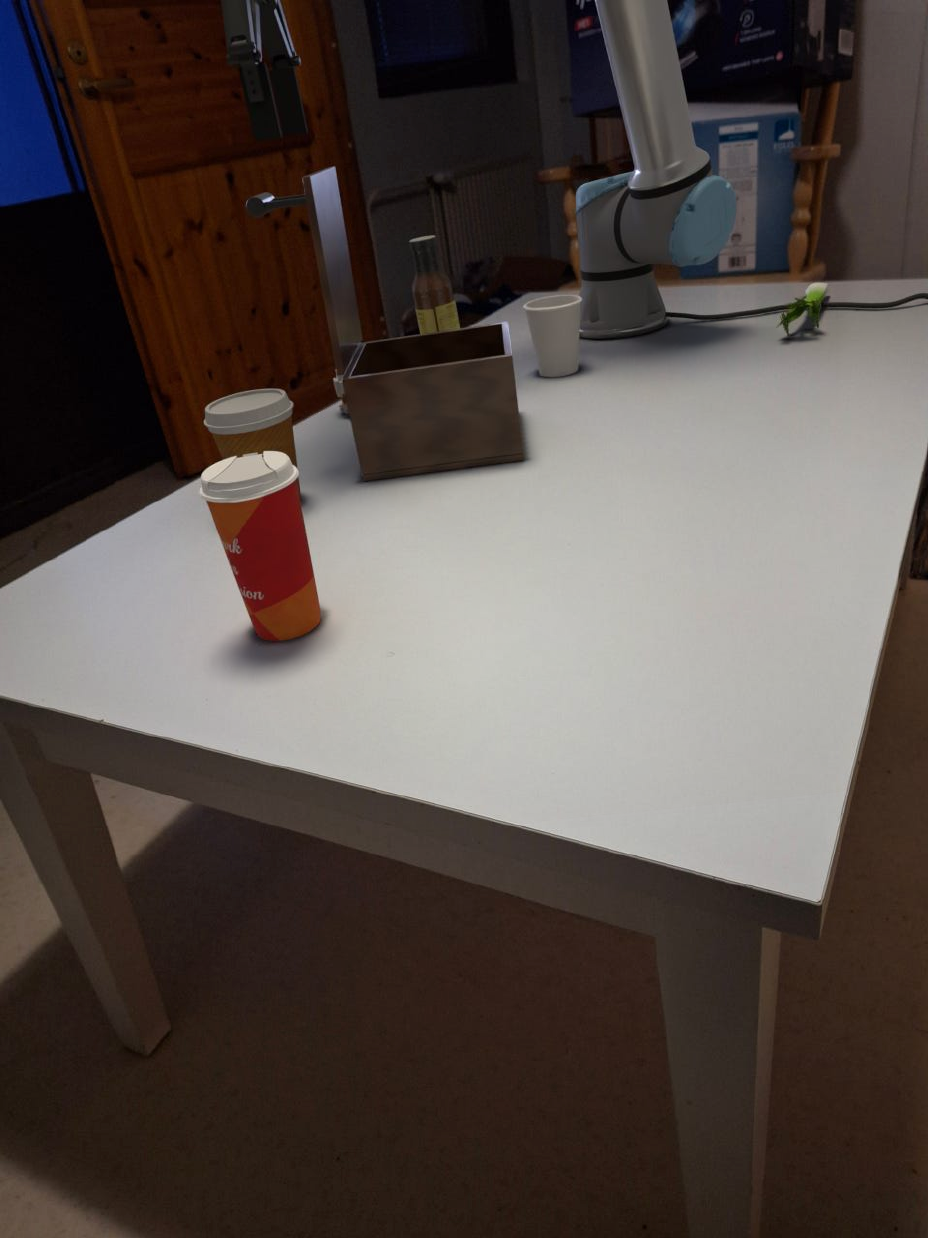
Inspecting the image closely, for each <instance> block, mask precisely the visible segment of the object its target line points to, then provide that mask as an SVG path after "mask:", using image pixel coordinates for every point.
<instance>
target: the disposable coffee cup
mask: <svg viewBox="0 0 928 1238" xmlns="http://www.w3.org/2000/svg"><path fill="white" fill-rule="evenodd" d="M293 409H294V402H293V401H292V400H291V399H290V398H289V396H288V394H287V393H286V391H285V390H283V389H281V388H260V389H258V388H257V389H252V390H245V391H240V392H236V393H233V394H229V395H227V396H224V397H221V398H218V399H216V400H213V401H212V402H210V403H209V404H207V405H206V406H205V407H204V420H203V425H204V426H205V427H206V428H207V429H208V431H209V432H210V433H211V434H212V437H213V439H214V443H215V444H216V446H217V449H218V451H219V453H220V456H221V458H222V460H225V459H227V458H230V457H234V456H237V458H240V457H243V455H245V454H251V453H258V454H263V452H264V451H277V452H282V453H284V454H286V455H287V456H288V457H289V458H290V460H291V463H292V465H294V466H295V467H296V468H297V469H298V460H297V453H296V452H297V451H296V442H295V435H294V426H293V418H292V417H293V416H292V415H293ZM262 457H264V456H263V455H262ZM298 470H299V469H298ZM299 477H300V476H299V475H298V477H297V478H296V481H297V487H298V492H299V497H300V503H302V494H301V487H300V478H299Z"/></svg>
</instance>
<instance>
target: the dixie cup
mask: <svg viewBox="0 0 928 1238" xmlns="http://www.w3.org/2000/svg"><path fill="white" fill-rule="evenodd" d="M581 301H582V298H581V297H580V296H579V295H577V294H556V295H548V296H543V297H539V298H535V299H532V300H529V301H527V302H526V303H524V304H523V306H522V309H523V310H524V311H525V314H526V320H527V323H528V328H529V334H530V337H531V341H532V345H533V346H532V347H533V350H534V354H535V359H536V363H537V368H538V372H539V375H540V376H542V377H545V378H559V377H565V376H569V375H572V374H575V373H576V372H578V371H579V360H580V359H579V358H580V336H579V332H580V305H581Z"/></svg>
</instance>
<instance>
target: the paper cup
mask: <svg viewBox="0 0 928 1238" xmlns="http://www.w3.org/2000/svg"><path fill="white" fill-rule="evenodd" d="M262 455H263V456H264V457H262ZM297 468H298V467H297ZM297 468H296V467H295V466H294V465H292V463H291V460H290V458H289V457H288V456H287V455H286V454H284V453H282V452H277V451H264V452H263V454H258V453H251V454H245V455H243V457H240V458H237V456H234V457H230V458H227V459H225V460H223V459H222V460H220V461H217V462H215V463H214V464H211V465H209V466H208V467H206V468H205V469H204V470H203V472H202V473H201V476H200V484H201V487H200V488H199V491H198V494H199V497H200V498H201V499H202V500H203V501H205V502H206V504H207V507H208V510H209V512H210V515H211V517H212V520H213V523H214V526H215V529H216V531H217V534H218V536H219V539H220V542H221V545H222V547H223V550H224V553H225V556H226V558H227V561H228V563H229V566H230V569H231V572H232V575H233V577H234V579H235V582H236V585H237V588H238V590H239V593H240V596H241V598H242V601H243V604H244V606H245V609H246V611H247V614H248V616H249V619H250V622H251V625H252V627H253V629H254V632H255V633H256V635H257V637H259V638H260V639H262V640H264V641H270V642H282V641H288V640H292V639H293V640H294V639H297V638H299V637H302V636H304V635H306V634H308V633H310V632H311V631H313V630H314V629H315V628H317V626H318V625H319V624H320V622H321V619H322V613H321V605H320V600H319V599H320V598H319V595H318V589H317V582H316V578H315V572H314V567H313V561H312V556H311V550H310V545H309V540H308V535H307V530H306V524H305V519H304V514H303V509H302V504H301V503H302V502H301V503H300V497H299V492H298V487H297V481H296V478H297V477H298V476H299V475H300V472H299V469H297Z"/></svg>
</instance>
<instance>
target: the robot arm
mask: <svg viewBox="0 0 928 1238" xmlns="http://www.w3.org/2000/svg"><path fill="white" fill-rule="evenodd" d="M594 3H595V6H596V10H597V15H598V18H599V19H598V20H599V22H600V23H599V24H600V27H601V31H602V35H603V39H604V45H605V48H606V52H607V56H608V61H609V65H610V68H611V73H612V77H613V82H614V86H615V90H616V93H617V98H618V102H619V108H620V111H621V115H622V119H623V125H624V128H625V132H626V137H627V140H628V145H629V149H630V153H631V157H632V161H633V166H634V169H633V171H629V172H625V173H620V174H616V175H613V176H609V177H605V178H600V179H597V180H593V181H590V182H586V183H583V184H582V185H580V186H579V187H578V188H577V190H576V192H575V211H574V215H575V222H576V234H577V246H578V255H579V257H578V258H579V268H580V280H581V284H580V285H581V286H580V290H579V293H578V294H579V295H578V296H580V297H581V298H582V301H581V305H580V332H579V338H584V339H591V340H605V339H607V340H608V339H620V338H627V337H628V338H629V337H635V336H640V335H644V334H647V333H651V332H654V331H656V330H659V329H662V328H663V327H664V326H665V325H667V322H668V318H674V319H675V318H676V319H687V320H695V321H715V320H716V321H717V320H727V319H733V318H741V317H748V316H755V315H762V314H766V313H772V312H779V311H786V310H787V311H789V309H787V307H788V306H787V305H786V304H779V305H773V306H769V307H767V306H766V307H762V308H755V309H749V310H742V311H734V312H728V313H718V314H717V313H716V314H695V313H686V312H674V311H667V309H666V305H665V302H664V300H663V297H662V294H661V292H660V289H659V285H658V283H657V280H656V278H655V274H654V273H655V271H654V265H664V266H676V267H680V268H683V267H689V266H700V265H705V264H707V263H709V262H712V260H714V259H715V258H716V257H717V256H718V255H719V254H720V253H721V252H722V251H723V249H724V248H725V246H726V245H727V243H728V242H729V239H730V235H731V233H732V232H733V229H734V226H735V222H736V217H737V196H736V193H735V190H734V187H733V186H732V184H731V182H729V181H727V179H725V178H724V177H723V176H718V175H716V174H715V175H714V173H713V168H712V162H711V157H710V154H709V153H708V152H707V151H705V150H704V149H702V148H700V147H698V146H697V145H696V140H695V135H694V131H693V130H694V129H693V126H692V125H693V124H692V121H691V115H690V111H689V110H690V109H689V104H688V100H687V95H686V89H685V85H684V80H683V79H684V78H683V74H682V69H681V64H680V59H679V53H678V49H677V48H678V47H677V44H676V39H675V34H674V29H673V22H672V18H671V14H670V9H669V4H668V0H594ZM220 4H221V5H220V6H221V11H222V12H221V13H222V20H223V26H224V27H223V29H224V36H225V44H226V52H227V54H226V55H225V59H226V63H227V66H228V67H229V68H236V67H237V72H238V76H239V79H240V83H241V88H242V92H243V96H244V101H245V105H246V109H247V114H248V118H249V123H250V126H251V131H252V135H253V138H254V142H255V143H259V142H263V141H270V140H275V139H279V138H281V139H282V138H283V137H284V138H287V137H292V136H298V135H304V134H308V133H309V131H308V130H309V129H308V125H307V121H306V117H305V112H304V106H303V102H302V101H303V100H302V97H301V92H300V87H299V82H298V78H297V73H296V67H300V66H301V65H302V62H301V61H302V60H301V57H300V55H299V54H298V55H297V53H296V51H295V48H294V44H293V41H292V38H291V33H290V31H289V27H288V24H287V20H286V17H285V13H284V10H283V6H282V3H281V0H220ZM262 46H263V48H264V52H265V54H266V57H267V60H268V62H269V66H270V67H271V70H268V65H267V62H262V60H263V54H262ZM921 299H923V300H928V292H918V293H915V294H911V295H909V296H906V297H904V298H901V299H898V300H894V301H889V302H851V301H832V302H831V301H829V302H827V301H826V302H825V301H821V308H820V309H823V308H827V309H829V308H830V309H833V308H836V309H837V308H845V309H846V308H849V309H889V308H895V307H898V306H899V307H900V306H902V305H905V304H907V303H910V302H912V301H917V300H921ZM789 307H790V305H789ZM789 307H788V308H789ZM819 307H820V303H819V306H818V308H819ZM793 308H794V307H793ZM793 308H791V309H793ZM791 309H790V310H791ZM807 309H809V307H807Z"/></svg>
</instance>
